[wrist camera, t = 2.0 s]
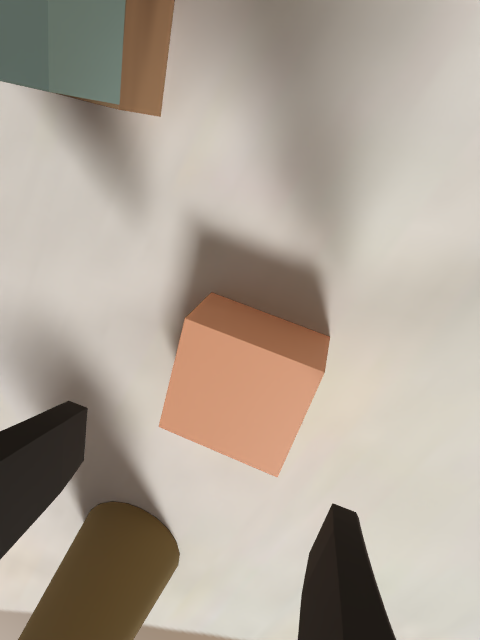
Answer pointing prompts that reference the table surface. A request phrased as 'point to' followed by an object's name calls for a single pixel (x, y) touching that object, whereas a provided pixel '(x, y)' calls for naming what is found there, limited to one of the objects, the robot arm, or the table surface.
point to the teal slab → (63, 46)
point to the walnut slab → (143, 56)
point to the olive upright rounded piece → (106, 577)
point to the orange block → (243, 381)
